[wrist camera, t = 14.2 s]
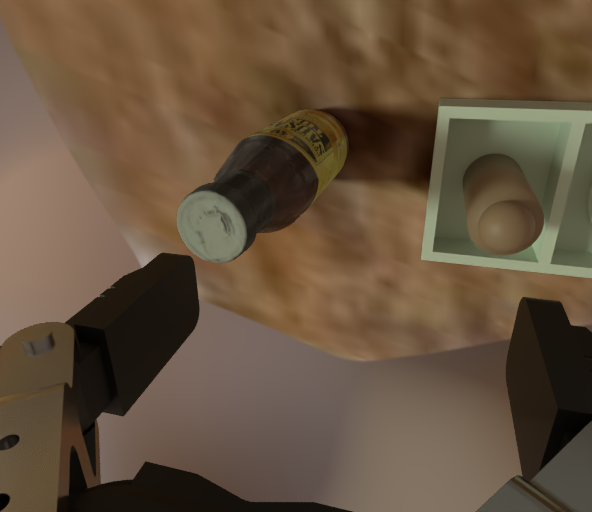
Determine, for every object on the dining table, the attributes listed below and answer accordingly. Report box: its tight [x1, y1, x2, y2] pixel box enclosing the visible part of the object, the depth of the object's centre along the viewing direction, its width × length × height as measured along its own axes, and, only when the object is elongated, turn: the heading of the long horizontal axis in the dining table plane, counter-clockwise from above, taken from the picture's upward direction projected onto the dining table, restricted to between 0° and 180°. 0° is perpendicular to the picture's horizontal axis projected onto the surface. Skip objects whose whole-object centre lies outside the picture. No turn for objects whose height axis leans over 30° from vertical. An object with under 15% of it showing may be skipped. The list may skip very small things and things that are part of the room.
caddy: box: [421, 98, 592, 278], centre depth 32 cm, size 12×18×12 cm, turn 90°
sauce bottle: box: [177, 109, 349, 263], centre depth 33 cm, size 6×6×20 cm
